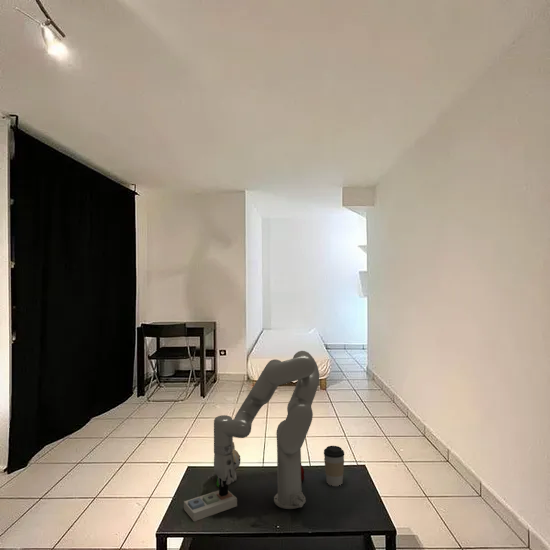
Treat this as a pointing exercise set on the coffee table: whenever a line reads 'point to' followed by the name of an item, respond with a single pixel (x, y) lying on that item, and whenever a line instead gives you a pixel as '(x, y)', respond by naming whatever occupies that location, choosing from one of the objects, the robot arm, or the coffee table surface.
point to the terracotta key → (224, 496)
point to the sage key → (210, 498)
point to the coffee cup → (334, 465)
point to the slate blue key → (195, 503)
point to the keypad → (210, 507)
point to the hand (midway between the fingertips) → (223, 494)
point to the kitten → (236, 463)
